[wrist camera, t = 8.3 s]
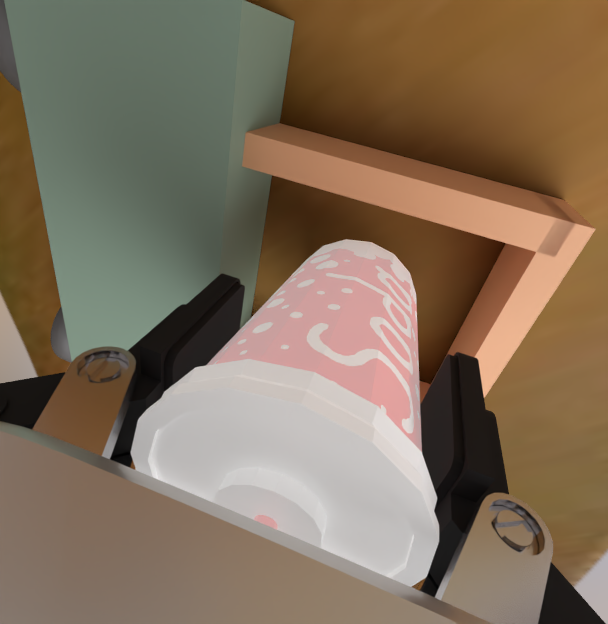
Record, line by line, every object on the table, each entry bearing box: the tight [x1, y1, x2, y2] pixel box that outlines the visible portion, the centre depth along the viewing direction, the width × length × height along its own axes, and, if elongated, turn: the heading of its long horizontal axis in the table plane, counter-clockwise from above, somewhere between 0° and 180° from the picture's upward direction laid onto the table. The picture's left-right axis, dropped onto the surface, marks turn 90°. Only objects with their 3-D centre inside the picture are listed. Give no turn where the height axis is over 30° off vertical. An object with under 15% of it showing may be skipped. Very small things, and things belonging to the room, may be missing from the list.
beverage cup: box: [131, 239, 439, 587], centre depth 9 cm, size 6×6×14 cm
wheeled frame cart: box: [0, 0, 595, 404], centre depth 15 cm, size 16×18×4 cm
